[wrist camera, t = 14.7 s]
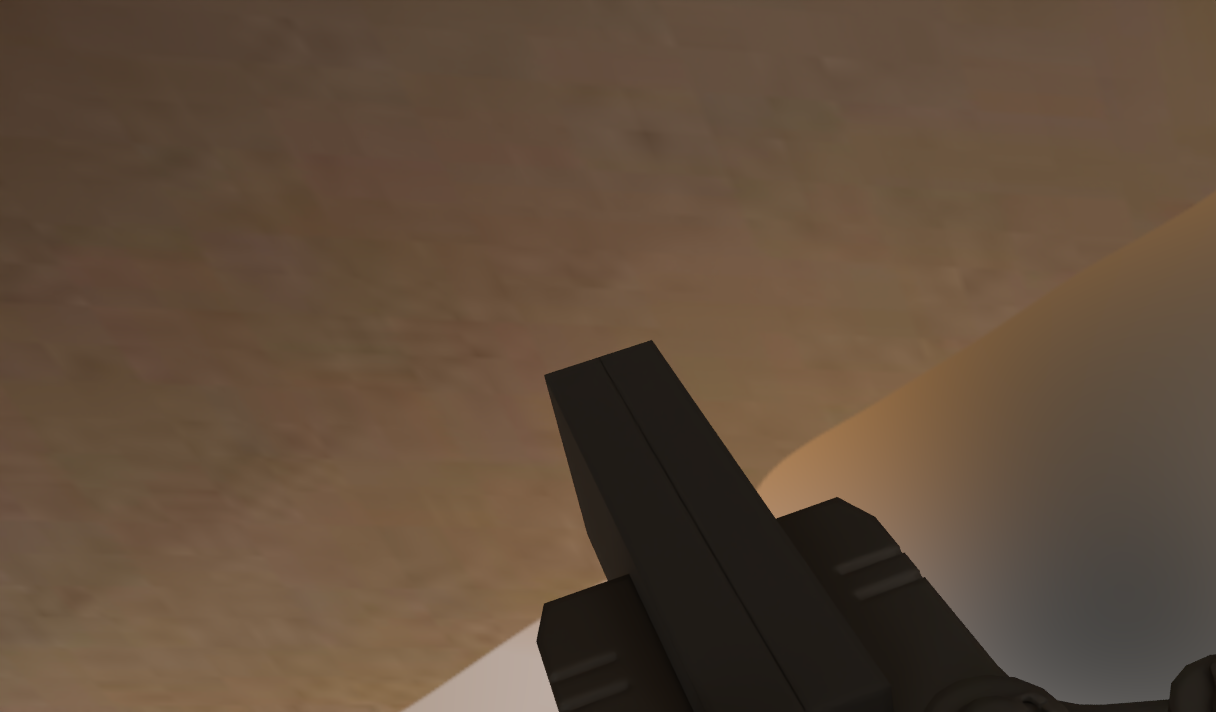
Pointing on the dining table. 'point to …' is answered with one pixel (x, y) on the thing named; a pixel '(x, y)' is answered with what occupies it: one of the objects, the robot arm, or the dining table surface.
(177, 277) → the dining table surface
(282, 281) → the dining table surface
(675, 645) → the robot arm
